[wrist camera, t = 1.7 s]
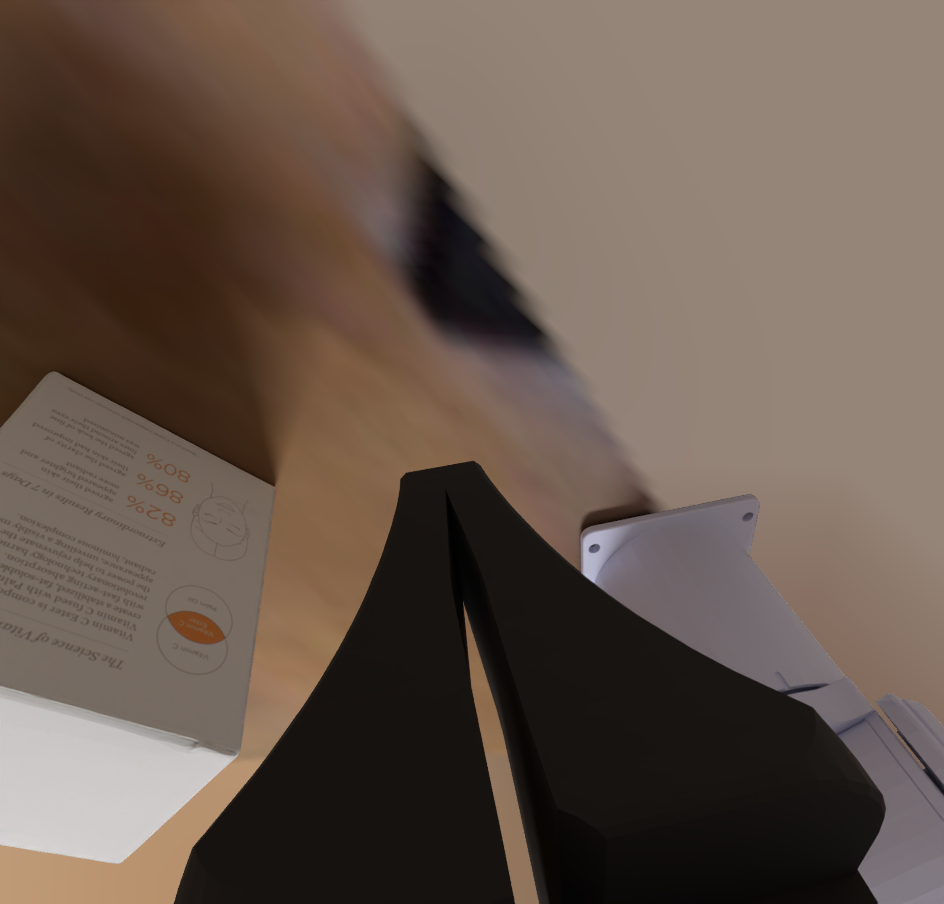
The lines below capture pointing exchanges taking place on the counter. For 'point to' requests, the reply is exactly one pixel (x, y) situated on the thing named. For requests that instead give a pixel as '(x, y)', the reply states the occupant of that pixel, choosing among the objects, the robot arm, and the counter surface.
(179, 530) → the small box
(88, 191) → the counter surface
